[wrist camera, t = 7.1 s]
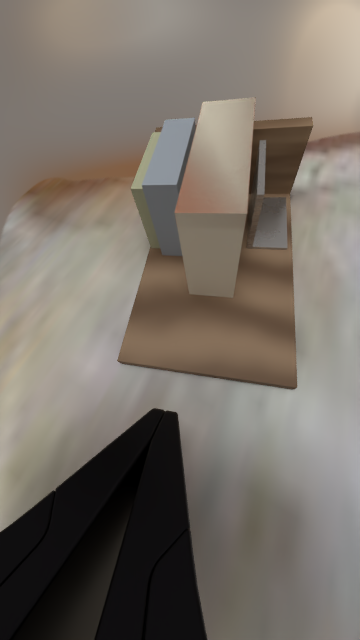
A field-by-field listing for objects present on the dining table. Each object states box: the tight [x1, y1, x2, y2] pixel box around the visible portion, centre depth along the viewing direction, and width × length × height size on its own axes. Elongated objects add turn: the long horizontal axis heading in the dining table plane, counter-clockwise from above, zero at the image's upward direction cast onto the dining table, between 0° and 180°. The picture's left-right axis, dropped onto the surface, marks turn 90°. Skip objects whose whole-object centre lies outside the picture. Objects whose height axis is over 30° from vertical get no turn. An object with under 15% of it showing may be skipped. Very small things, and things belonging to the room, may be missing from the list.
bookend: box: [247, 140, 287, 250], centre depth 23 cm, size 8×4×6 cm, turn 170°
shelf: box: [117, 117, 313, 389], centre depth 22 cm, size 25×16×8 cm, turn 170°
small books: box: [131, 118, 196, 256], centre depth 24 cm, size 10×5×8 cm, turn 170°
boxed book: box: [174, 98, 255, 298], centre depth 21 cm, size 14×4×10 cm, turn 170°
